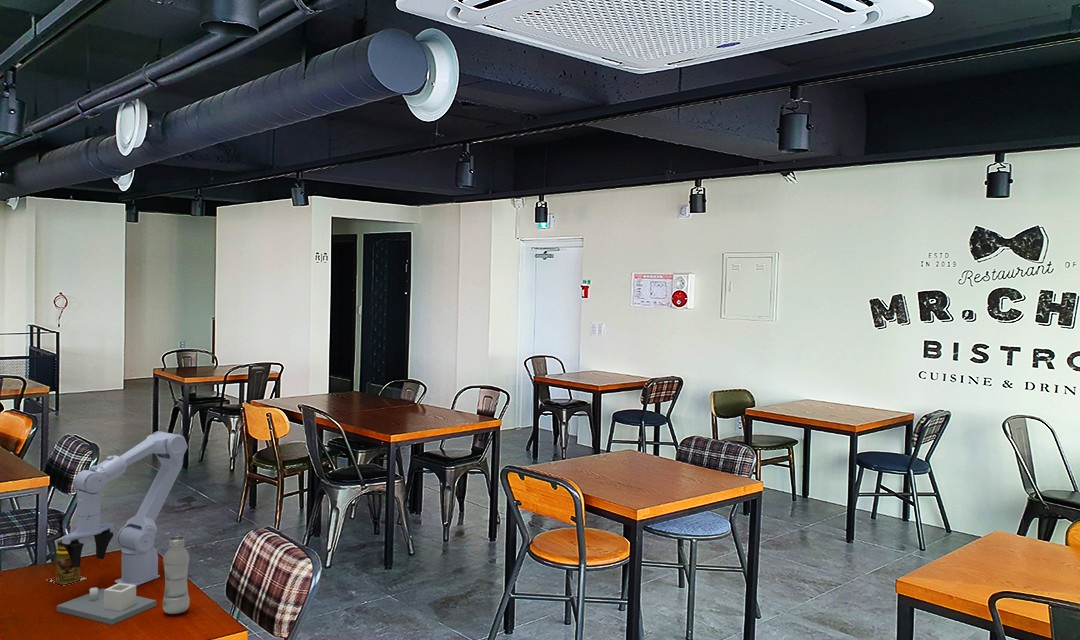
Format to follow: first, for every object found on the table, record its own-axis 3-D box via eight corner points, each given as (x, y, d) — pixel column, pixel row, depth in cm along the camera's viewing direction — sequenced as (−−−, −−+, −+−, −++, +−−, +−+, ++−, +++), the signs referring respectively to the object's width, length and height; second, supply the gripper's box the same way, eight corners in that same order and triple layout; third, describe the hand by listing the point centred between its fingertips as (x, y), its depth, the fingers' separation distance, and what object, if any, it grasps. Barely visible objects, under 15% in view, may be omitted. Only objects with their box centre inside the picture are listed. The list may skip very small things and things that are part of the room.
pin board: (102, 593, 230) (102, 577, 230) (156, 605, 223) (156, 589, 223) (56, 611, 217) (56, 594, 217) (112, 624, 210) (112, 607, 210)
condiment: (62, 586, 235) (63, 545, 234) (45, 580, 239) (46, 539, 238) (87, 579, 241) (87, 538, 241) (70, 573, 245) (70, 533, 245)
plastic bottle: (179, 618, 215) (180, 543, 214) (156, 615, 217) (157, 540, 216) (194, 609, 222) (195, 536, 221) (172, 606, 223) (173, 533, 222)
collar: (118, 601, 222) (118, 582, 221) (135, 603, 220) (136, 585, 220) (103, 608, 216) (104, 589, 216) (121, 611, 215) (121, 592, 215)
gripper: (101, 506, 236) (100, 552, 236) (54, 518, 222) (54, 568, 223) (119, 509, 233) (118, 556, 234) (73, 522, 220) (72, 572, 220)
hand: (88, 562), depth 228 cm, fingers open, 7 cm apart
